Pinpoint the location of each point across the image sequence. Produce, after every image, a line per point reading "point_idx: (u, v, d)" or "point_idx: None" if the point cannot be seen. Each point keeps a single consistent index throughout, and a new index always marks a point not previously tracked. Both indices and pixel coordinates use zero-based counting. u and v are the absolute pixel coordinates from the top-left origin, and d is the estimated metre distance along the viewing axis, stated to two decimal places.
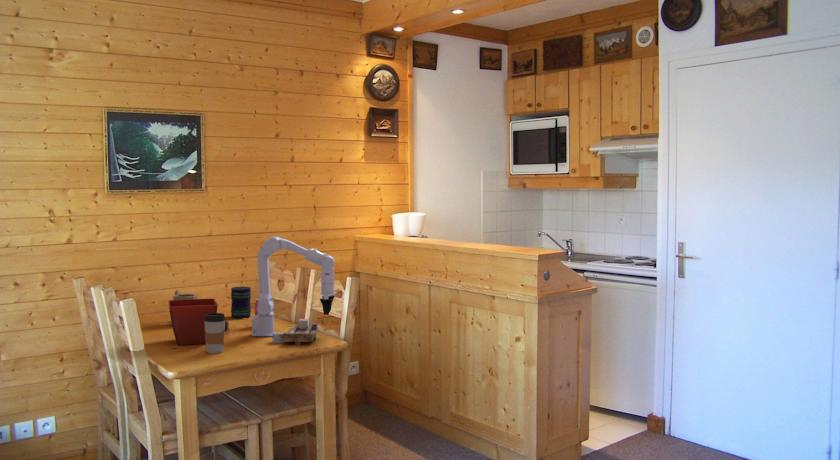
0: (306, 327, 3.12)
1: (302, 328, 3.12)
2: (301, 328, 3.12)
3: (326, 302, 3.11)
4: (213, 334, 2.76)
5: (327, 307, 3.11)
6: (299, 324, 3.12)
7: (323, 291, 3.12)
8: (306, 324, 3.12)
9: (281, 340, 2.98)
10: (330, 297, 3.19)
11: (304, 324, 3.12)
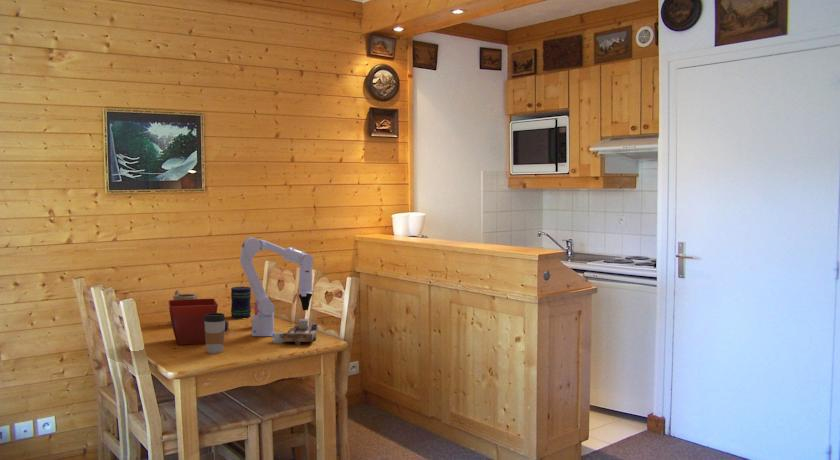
0: (306, 327, 3.12)
1: (302, 328, 3.12)
2: (301, 328, 3.12)
3: (305, 298, 3.19)
4: (213, 334, 2.76)
5: (306, 303, 3.19)
6: (299, 324, 3.12)
7: (302, 288, 3.17)
8: (306, 324, 3.12)
9: (281, 340, 2.98)
10: None
11: (304, 324, 3.12)
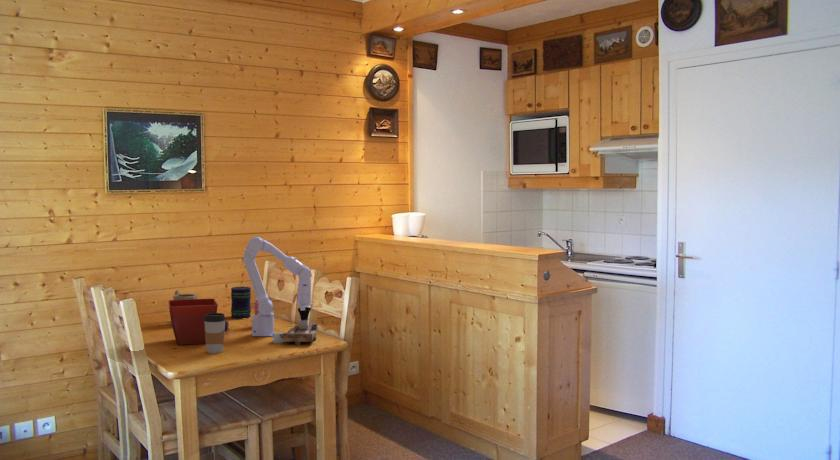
0: (306, 327, 3.12)
1: (302, 328, 3.12)
2: (301, 328, 3.12)
3: (304, 312, 3.16)
4: (213, 334, 2.76)
5: (305, 316, 3.16)
6: (299, 324, 3.12)
7: (300, 302, 3.14)
8: (306, 324, 3.12)
9: (281, 340, 2.98)
10: None
11: (304, 324, 3.12)
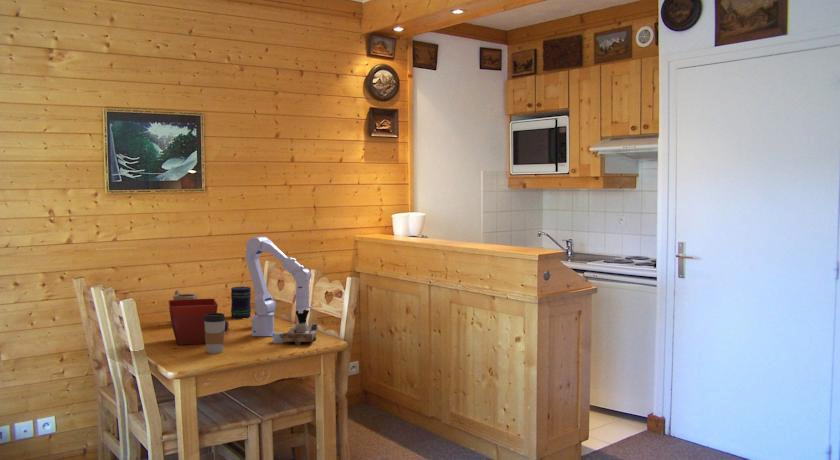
0: (304, 330, 3.05)
1: (300, 331, 3.04)
2: (299, 331, 3.04)
3: (302, 314, 3.09)
4: (213, 334, 2.76)
5: (303, 319, 3.09)
6: (297, 328, 3.04)
7: (298, 304, 3.07)
8: (304, 327, 3.04)
9: (281, 340, 2.98)
10: (304, 312, 3.10)
11: (302, 328, 3.04)
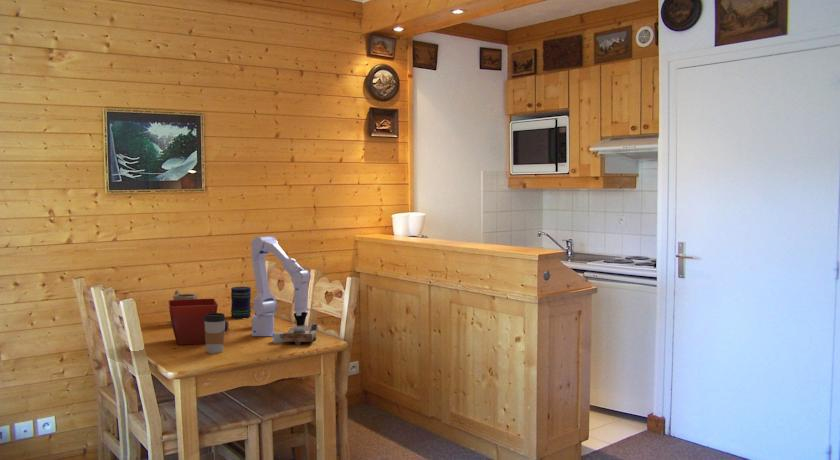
0: None
1: None
2: None
3: (300, 317, 3.03)
4: (213, 334, 2.76)
5: (301, 322, 3.03)
6: (295, 330, 2.99)
7: (297, 307, 3.01)
8: (302, 330, 2.99)
9: (281, 340, 2.98)
10: None
11: (300, 330, 2.99)
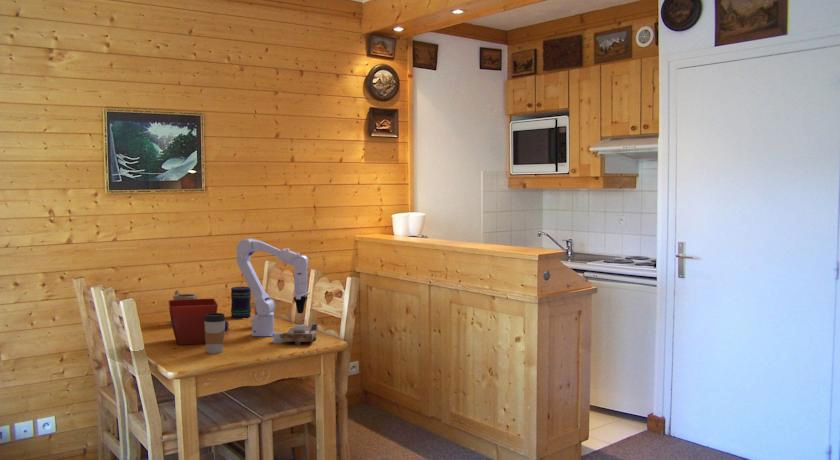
0: None
1: None
2: None
3: (300, 301, 3.11)
4: (213, 334, 2.76)
5: (301, 306, 3.11)
6: (295, 330, 2.99)
7: (296, 291, 3.09)
8: (302, 330, 2.99)
9: (281, 340, 2.98)
10: None
11: (300, 330, 2.99)
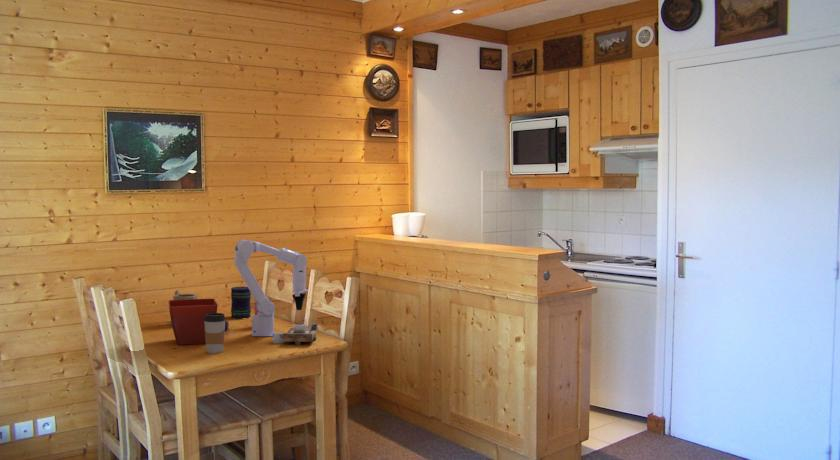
0: None
1: None
2: None
3: (299, 298, 3.19)
4: (213, 334, 2.76)
5: (300, 303, 3.19)
6: (295, 330, 2.99)
7: (295, 288, 3.17)
8: (302, 330, 2.99)
9: (281, 340, 2.98)
10: None
11: (300, 330, 2.99)
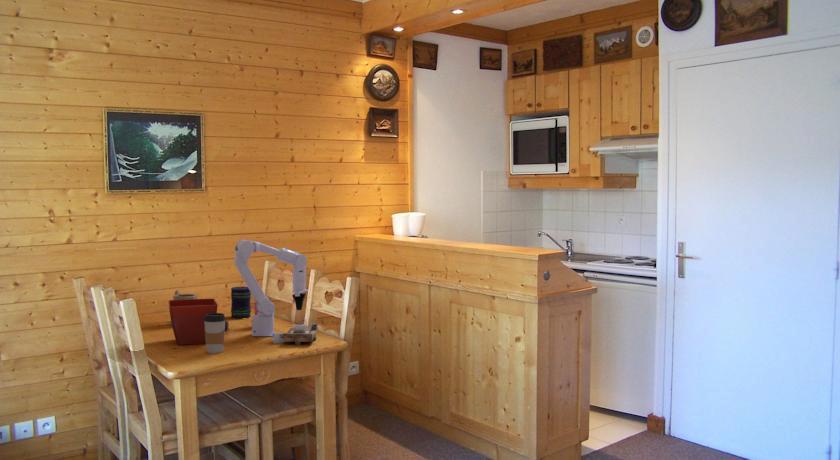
0: None
1: None
2: None
3: (299, 298, 3.19)
4: (213, 334, 2.76)
5: (300, 303, 3.19)
6: (295, 330, 2.99)
7: (295, 288, 3.17)
8: (302, 330, 2.99)
9: (281, 340, 2.98)
10: None
11: (300, 330, 2.99)
